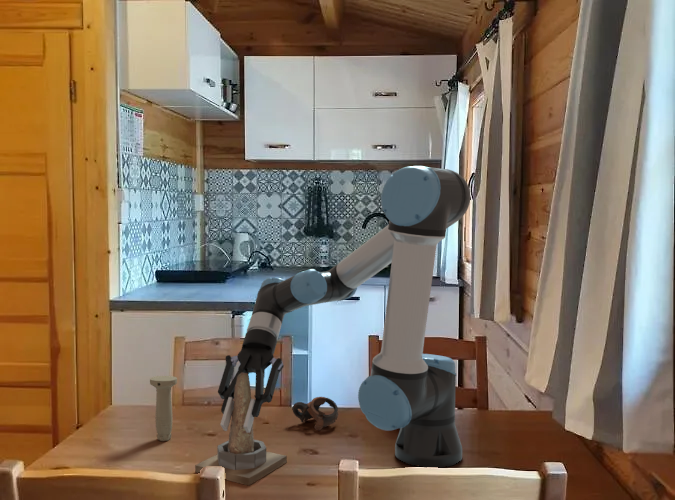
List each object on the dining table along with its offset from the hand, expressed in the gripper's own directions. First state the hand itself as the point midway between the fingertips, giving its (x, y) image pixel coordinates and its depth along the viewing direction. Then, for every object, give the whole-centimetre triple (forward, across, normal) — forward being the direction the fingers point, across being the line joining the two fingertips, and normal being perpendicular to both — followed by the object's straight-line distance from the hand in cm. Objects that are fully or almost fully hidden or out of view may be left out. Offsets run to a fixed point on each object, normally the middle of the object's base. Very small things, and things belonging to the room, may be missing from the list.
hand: (235, 428), depth 138 cm
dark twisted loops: (-18, -8, -32) cm, 37 cm away
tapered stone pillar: (+2, 0, -8) cm, 8 cm away
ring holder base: (+4, 0, -10) cm, 10 cm away
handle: (-4, +25, -18) cm, 31 cm away
